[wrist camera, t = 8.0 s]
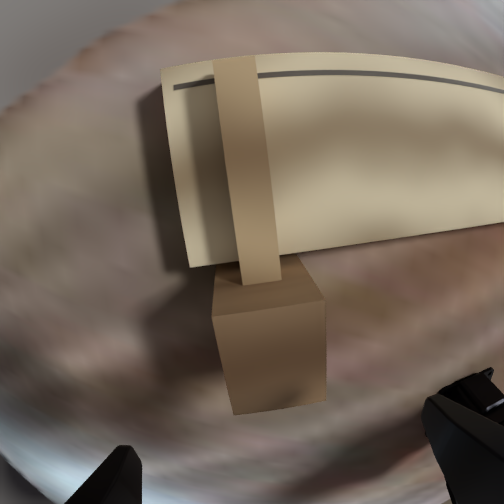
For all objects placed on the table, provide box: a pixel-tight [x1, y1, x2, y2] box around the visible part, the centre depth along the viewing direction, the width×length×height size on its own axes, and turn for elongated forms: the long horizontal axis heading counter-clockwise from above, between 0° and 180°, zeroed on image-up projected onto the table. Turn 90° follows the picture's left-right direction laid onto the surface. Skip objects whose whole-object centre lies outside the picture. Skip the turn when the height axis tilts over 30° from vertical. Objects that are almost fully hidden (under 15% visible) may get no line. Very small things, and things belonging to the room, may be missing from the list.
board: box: [160, 52, 504, 268], centre depth 14 cm, size 9×24×2 cm, turn 97°
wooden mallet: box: [211, 56, 326, 415], centre depth 13 cm, size 14×4×6 cm, turn 7°
